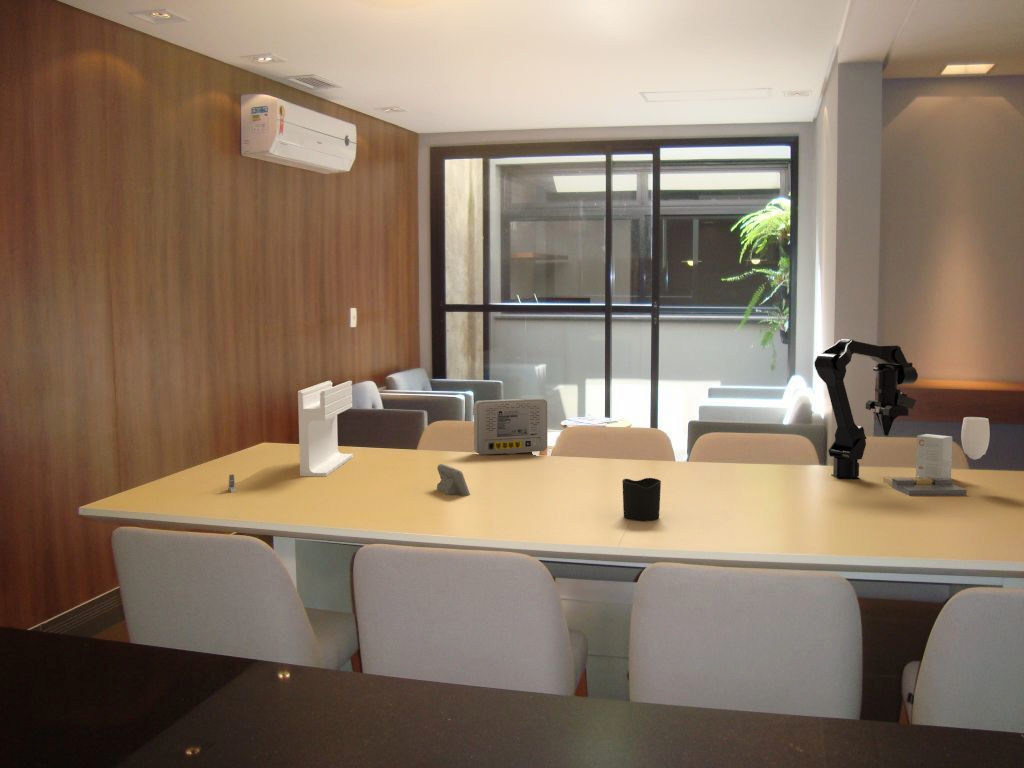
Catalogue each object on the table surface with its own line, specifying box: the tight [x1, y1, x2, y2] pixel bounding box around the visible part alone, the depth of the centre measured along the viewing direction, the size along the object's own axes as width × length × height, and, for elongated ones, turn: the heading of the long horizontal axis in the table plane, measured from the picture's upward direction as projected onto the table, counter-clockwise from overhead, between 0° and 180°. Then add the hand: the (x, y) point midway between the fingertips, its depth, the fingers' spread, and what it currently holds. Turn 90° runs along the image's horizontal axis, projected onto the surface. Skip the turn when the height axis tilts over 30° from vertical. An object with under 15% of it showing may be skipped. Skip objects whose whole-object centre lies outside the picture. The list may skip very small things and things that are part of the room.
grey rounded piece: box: [960, 416, 991, 460], centre depth 268 cm, size 7×7×21 cm
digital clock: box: [436, 463, 471, 497], centre depth 262 cm, size 14×8×9 cm, turn 16°
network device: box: [473, 397, 548, 456], centre depth 329 cm, size 26×9×20 cm, turn 108°
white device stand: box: [297, 380, 354, 477], centre depth 300 cm, size 35×8×28 cm, turn 176°
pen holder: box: [622, 477, 662, 522], centre depth 235 cm, size 9×9×10 cm
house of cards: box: [220, 473, 236, 494], centre depth 261 cm, size 9×9×8 cm
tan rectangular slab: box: [882, 476, 932, 487], centre depth 275 cm, size 14×11×3 cm
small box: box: [915, 433, 953, 479], centre depth 287 cm, size 8×6×13 cm
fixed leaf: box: [891, 477, 968, 497], centre depth 266 cm, size 16×11×3 cm
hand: (885, 435), depth 295 cm, fingers closed
